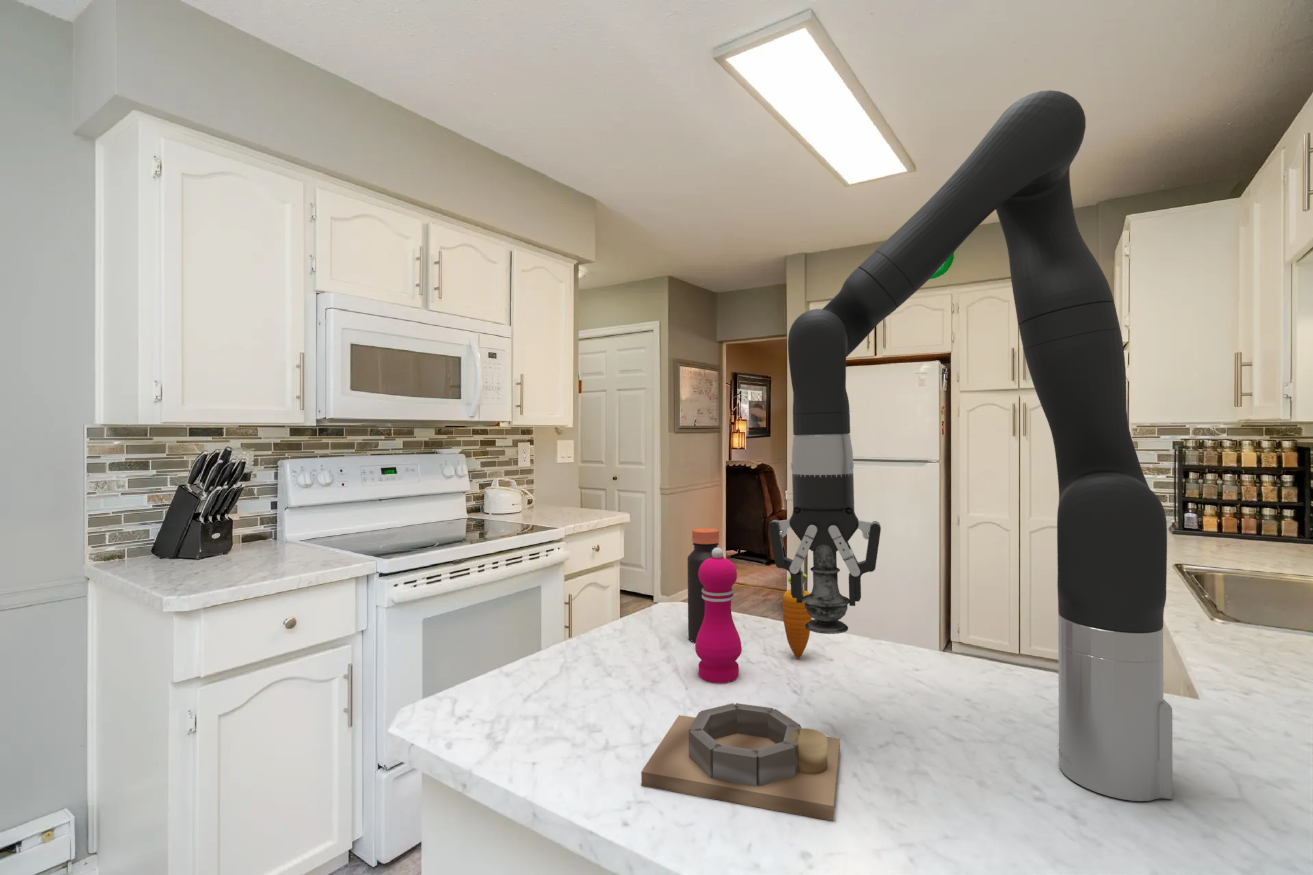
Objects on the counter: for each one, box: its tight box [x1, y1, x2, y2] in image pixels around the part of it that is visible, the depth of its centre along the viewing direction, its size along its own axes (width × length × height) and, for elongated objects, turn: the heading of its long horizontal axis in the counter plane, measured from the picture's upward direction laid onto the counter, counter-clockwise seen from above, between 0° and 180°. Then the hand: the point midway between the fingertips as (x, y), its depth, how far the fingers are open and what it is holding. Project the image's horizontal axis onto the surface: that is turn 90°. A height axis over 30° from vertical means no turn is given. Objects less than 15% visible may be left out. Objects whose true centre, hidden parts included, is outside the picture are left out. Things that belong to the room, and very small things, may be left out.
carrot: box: [782, 572, 813, 660], centre depth 104 cm, size 5×5×15 cm
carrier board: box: [640, 702, 841, 822], centre depth 70 cm, size 20×14×4 cm
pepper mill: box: [694, 547, 743, 684], centre depth 97 cm, size 7×7×20 cm
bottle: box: [687, 527, 725, 643], centre depth 114 cm, size 7×7×20 cm
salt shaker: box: [802, 545, 849, 635], centre depth 79 cm, size 6×6×12 cm
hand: (825, 602), depth 79 cm, fingers closed on salt shaker, 6 cm apart
